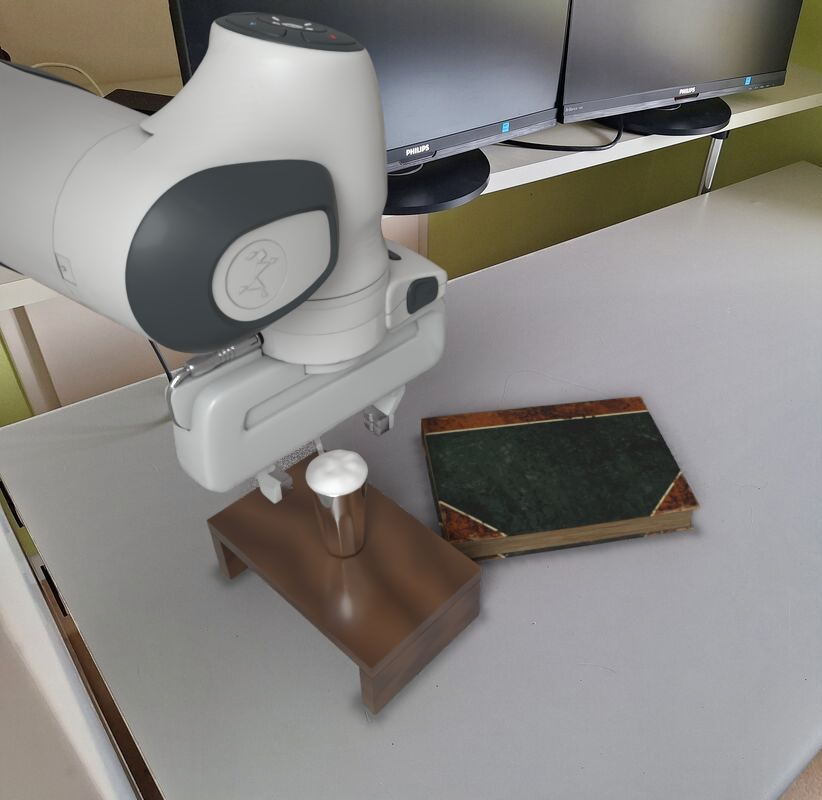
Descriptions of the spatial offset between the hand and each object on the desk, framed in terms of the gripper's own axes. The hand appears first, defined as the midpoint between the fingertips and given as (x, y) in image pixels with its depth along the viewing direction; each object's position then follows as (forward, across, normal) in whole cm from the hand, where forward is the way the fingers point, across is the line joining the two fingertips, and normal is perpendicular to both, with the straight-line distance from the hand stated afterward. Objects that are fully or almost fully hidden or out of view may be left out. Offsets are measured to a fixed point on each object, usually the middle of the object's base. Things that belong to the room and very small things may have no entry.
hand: (331, 459), depth 56 cm
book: (+17, +24, -5) cm, 29 cm away
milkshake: (+10, +1, 0) cm, 10 cm away
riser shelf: (+17, 0, 0) cm, 17 cm away
